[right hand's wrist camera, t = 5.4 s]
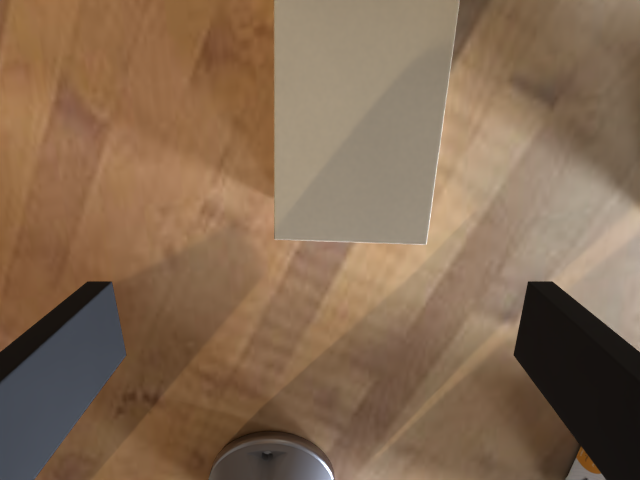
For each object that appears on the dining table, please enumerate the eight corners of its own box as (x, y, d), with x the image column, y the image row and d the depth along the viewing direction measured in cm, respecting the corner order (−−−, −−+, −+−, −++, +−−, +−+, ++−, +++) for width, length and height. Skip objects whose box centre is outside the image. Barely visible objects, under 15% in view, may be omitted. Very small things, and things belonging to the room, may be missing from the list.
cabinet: (287, -35, 32) (273, -91, 22) (425, -29, 32) (471, -82, 22) (285, 204, 38) (274, 239, 29) (400, 208, 38) (426, 245, 29)
